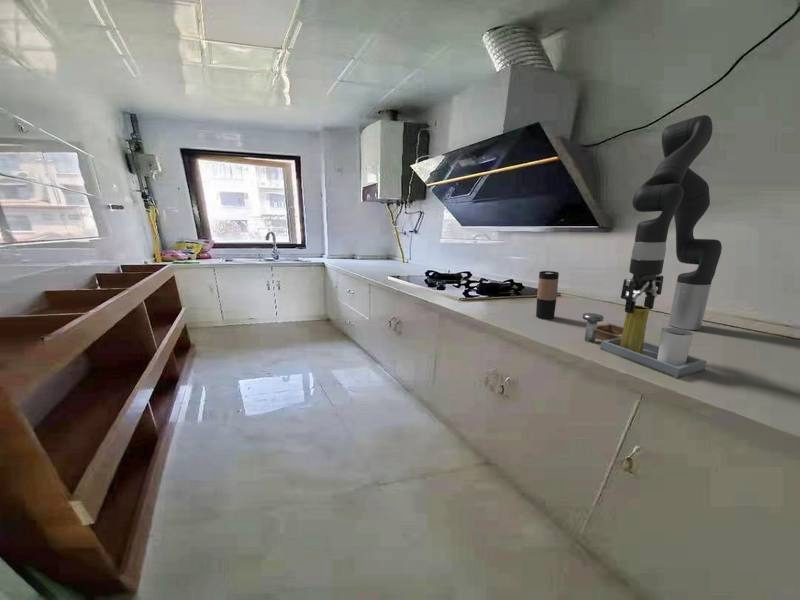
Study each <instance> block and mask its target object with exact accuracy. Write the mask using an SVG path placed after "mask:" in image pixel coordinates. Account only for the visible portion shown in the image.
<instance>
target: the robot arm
mask: <svg viewBox="0 0 800 600" xmlns="http://www.w3.org/2000/svg"><path fill="white" fill-rule="evenodd" d="M712 135H713V121H712V118H711V116H709V115H707V114H702V115H701V114H700V115H698V116H694V117H691V118H688V119H685V120H681V121H679V122H675V123H673V124H669V125H667V126H665V127H664V129H663V130H662V134H661V148H662V152H663V157H664V159H663V160H662V161H661V162H660V163H659V164H658V166H657V167H656V169H655V170H654V172H653V174H652V176H651V177H650V178H649V179H648V180H646V181H645V182H644V183H642V184H641V186H639V188H638V189H636V192H634V196H633V198H632V203H631V204H632V207H633V209H634V210H636V211H637V212H639V213H646V212H652V213H653V212H661V213H660V215H659V216H657V217H656V218H652V219H649V220H648V219H647V220H643V221H640V222H639V223H638V224H637V226H636V231H635V236H634V243H633V247H632V249H631V256H630V264H629V270H628V271H629V273H630V274H632V278H631V279H630V278H624V279H623V284H622V288H621V294H620V299H621V300H625V307H624V312H625V313H634V309H635V305H636V303H637V302H636V301H637V299H638V297H639V296H641V295H642V294H643V293H644V294H645V297H644V302H643V306H644V307H648V308H649V310H653V309H654V304H655V298H657V296H660V295H661V294H662V292H663V291H662V290H663V284H664V275H661V274H662V273H663V268H664V264H665V263H664V262H665V258H666V252H667V251H666V250H667V241H668V239H667V238H668V234H669V233H668V232H669V230H670V228H669V227H670V225H671V222H672V220H673V218H674V225H675V226H674V227H675V250H676V251H675V252H676V253H675V254H676V259H677V261H679V262H680V263H682V264H686V265H687V264H688V265H696V266H697V265H698V266H697V268H696V269H695V270H693V271H690V272H683V273H680V274H678V275H677V279H676V284H675V289H674V295H673V299H672V304H671V309H670V312H669V313H670V315H669V320H668V325H669V326H671V327H672V328H679V329H683V330H687V331H699V330H701V329H702V325H703V320H704V317H705V313H706V308H707V303H708V300H709V296H710V295H709V294H710V292H711V291H710V290H711V285H712V282H713V279H714V277H715V274H716V272H717V267H718V264H719V260H720V258H721V254H722V250H723V249H722V247H723V246H722V242H721V241H720V240H719V239H713V238H711V239H710V238H709V239H707V238H695V236H694V230H695V226H696V225H697V224H698V222H700V220H701V219H702V217H703V216H704V215H705V213H706V212H707V211H708V209H709V207H710V205H711V198H710V197H711V196H710V187H709V184H708V182H707V181H706V180H705V179H704V178H703V177H702V176H700V175H699V174H697V173H696V172H695V171H694V170H692V168H690V166H691V164H692V163H693V162H694V161H695V160H696V159H697V157H698V156H699V155H700V154H701V153H702V152H703V150H704V149H705V148H706V146H707V145H708V144H709V142H710V140H711V139H712Z"/></svg>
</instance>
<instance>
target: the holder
mask: <svg viewBox="0 0 800 600" xmlns="http://www.w3.org/2000/svg"><path fill="white" fill-rule="evenodd" d="M623 327H624V326H620V325H616V324H612V323H609V322H608V323H602V324H597V330H596V337H595V339H596V340H600V341H604V340H609V339H614V338H618V337H622V332H623Z"/></svg>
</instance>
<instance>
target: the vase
mask: <svg viewBox="0 0 800 600" xmlns="http://www.w3.org/2000/svg"><path fill="white" fill-rule="evenodd" d="M625 313H626V314H625V318H624V322H623V326H622V327H623V332H622V337H621V343H620V347H623V348H626V349H629V350H631V351H634V352H637V353H640V354H642V353H643V346H644V341H645V338H646V337H645V336H646V330H647V322H648V317H649V313H650V309H649V308H648V307H644V305H637V304H635V309H634V313H627V312H625Z"/></svg>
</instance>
